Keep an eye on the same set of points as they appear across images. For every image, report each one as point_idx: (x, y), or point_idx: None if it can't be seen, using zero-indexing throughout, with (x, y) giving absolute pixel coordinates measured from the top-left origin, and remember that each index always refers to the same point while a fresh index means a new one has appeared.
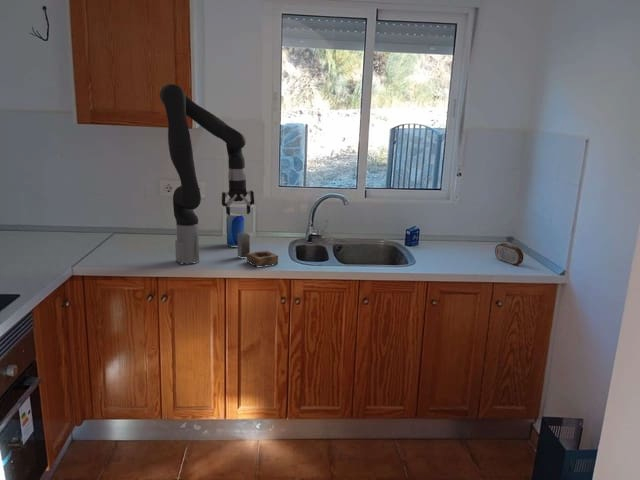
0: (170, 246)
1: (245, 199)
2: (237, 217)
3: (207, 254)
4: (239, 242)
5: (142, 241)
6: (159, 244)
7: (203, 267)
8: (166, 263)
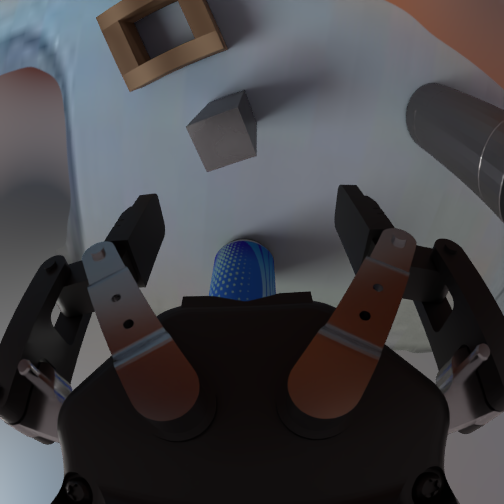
0: None
1: (109, 301)
2: None
3: (360, 181)
4: (249, 122)
5: None
6: None
7: (404, 35)
8: None
